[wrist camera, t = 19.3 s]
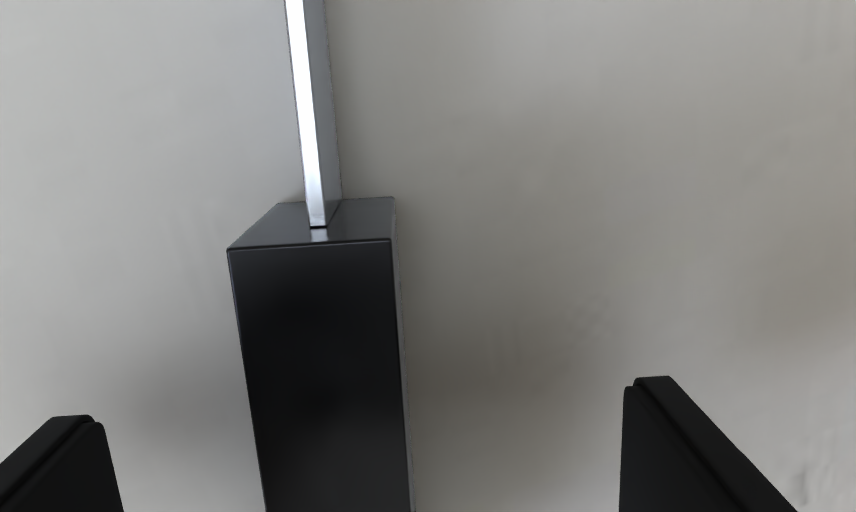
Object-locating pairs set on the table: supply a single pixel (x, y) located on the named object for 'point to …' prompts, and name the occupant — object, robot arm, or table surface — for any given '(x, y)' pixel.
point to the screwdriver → (324, 321)
